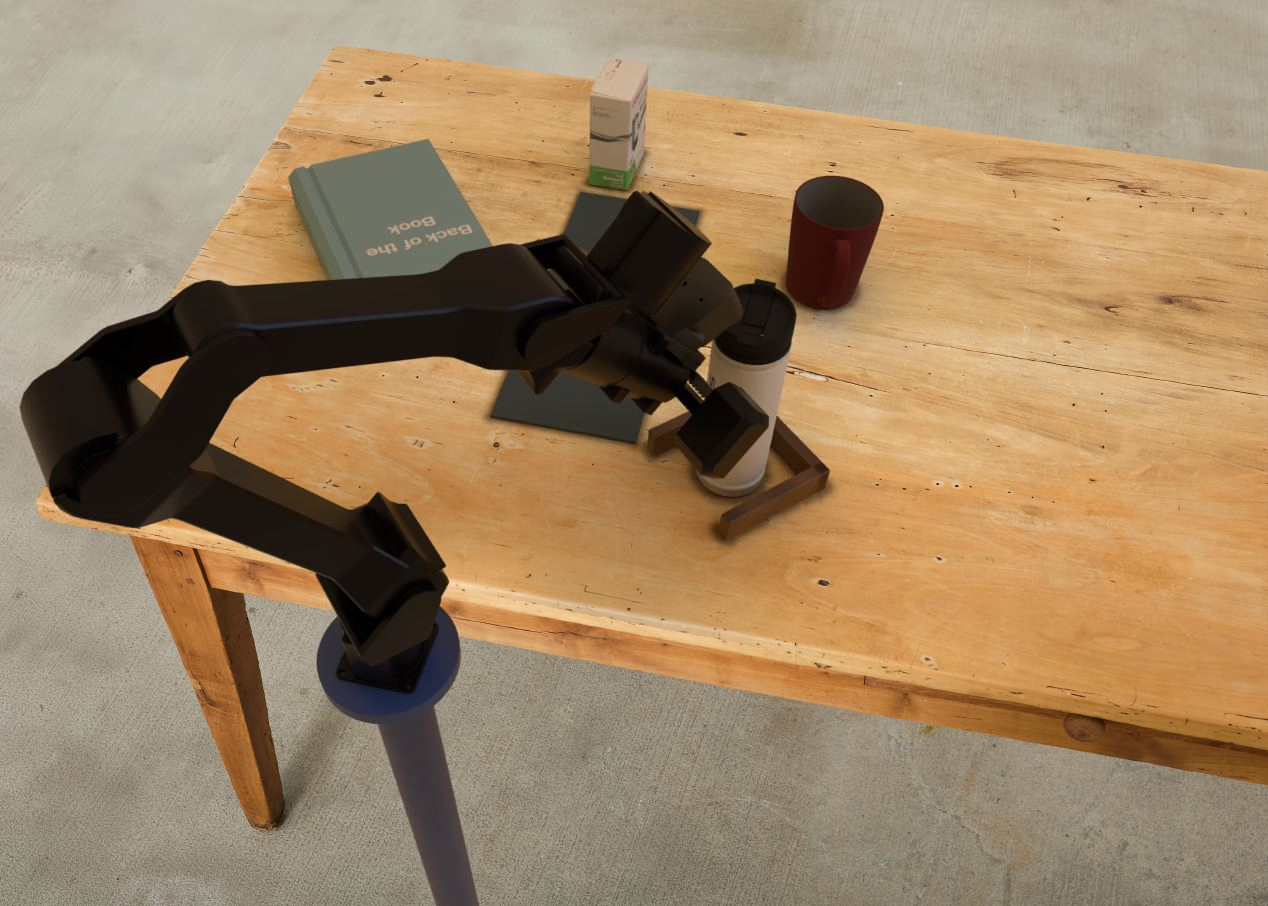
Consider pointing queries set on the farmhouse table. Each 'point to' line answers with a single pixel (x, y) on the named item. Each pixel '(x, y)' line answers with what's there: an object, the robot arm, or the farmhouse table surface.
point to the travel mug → (753, 372)
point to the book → (385, 213)
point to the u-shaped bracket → (772, 500)
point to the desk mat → (567, 395)
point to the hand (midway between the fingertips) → (720, 394)
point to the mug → (830, 239)
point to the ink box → (617, 123)
